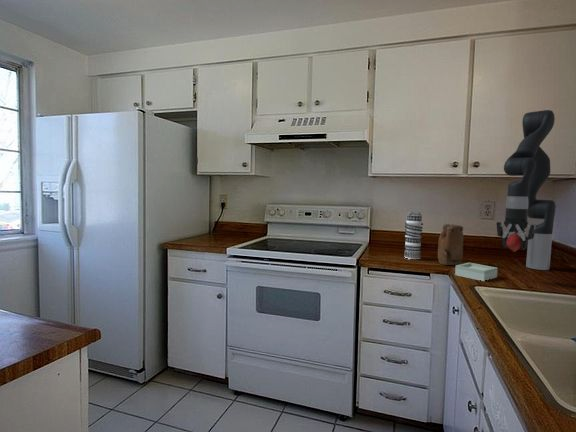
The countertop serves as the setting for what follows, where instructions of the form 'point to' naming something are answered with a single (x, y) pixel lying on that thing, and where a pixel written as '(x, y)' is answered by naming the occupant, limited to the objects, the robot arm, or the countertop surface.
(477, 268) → the stand
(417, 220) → the white grey cylinder
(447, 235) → the block
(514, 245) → the onion
